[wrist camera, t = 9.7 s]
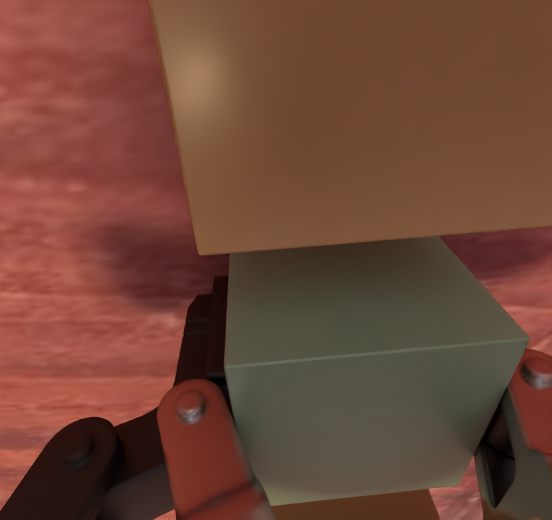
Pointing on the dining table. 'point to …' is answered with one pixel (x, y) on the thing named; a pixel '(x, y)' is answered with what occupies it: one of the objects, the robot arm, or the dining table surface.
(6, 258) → the dining table surface
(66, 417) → the dining table surface
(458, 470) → the sage block
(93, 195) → the dining table surface
